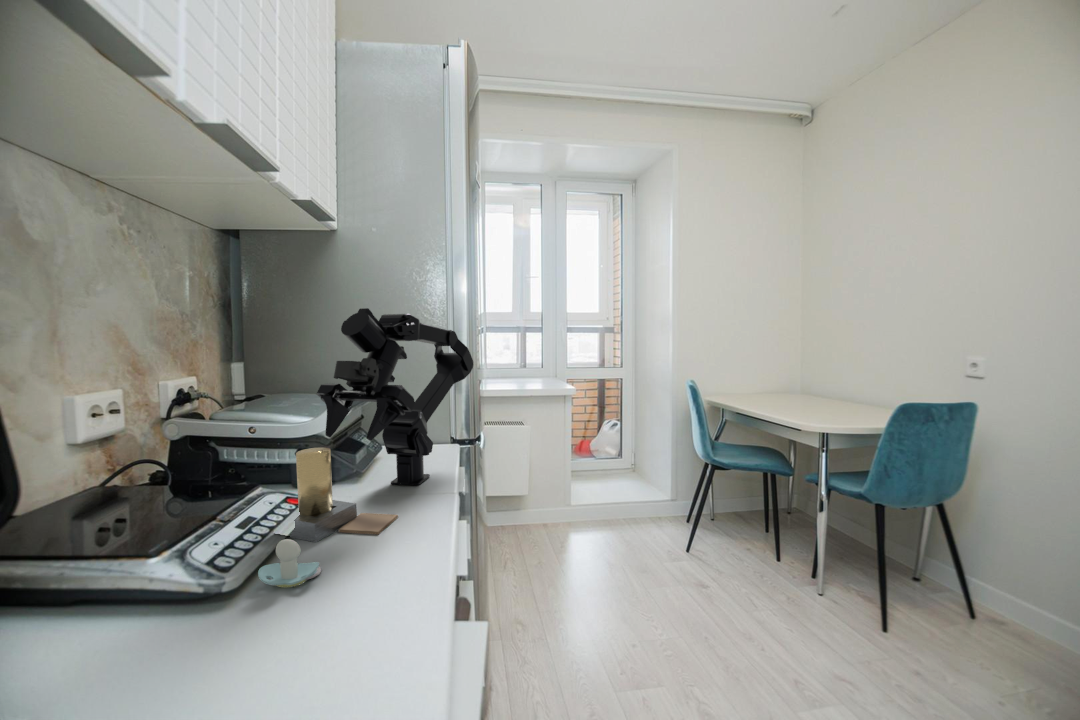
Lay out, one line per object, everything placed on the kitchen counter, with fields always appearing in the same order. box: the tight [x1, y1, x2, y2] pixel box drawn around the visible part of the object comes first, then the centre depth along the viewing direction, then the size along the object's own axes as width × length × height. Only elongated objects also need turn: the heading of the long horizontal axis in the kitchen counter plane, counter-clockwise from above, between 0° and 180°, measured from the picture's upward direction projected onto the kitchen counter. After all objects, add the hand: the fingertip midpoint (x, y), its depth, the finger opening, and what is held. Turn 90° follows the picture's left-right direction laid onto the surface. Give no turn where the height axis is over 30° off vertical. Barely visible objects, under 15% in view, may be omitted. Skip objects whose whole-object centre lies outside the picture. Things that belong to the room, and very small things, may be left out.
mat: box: [338, 512, 399, 536], centre depth 79 cm, size 7×7×1 cm
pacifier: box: [257, 538, 322, 588], centre depth 62 cm, size 7×6×6 cm
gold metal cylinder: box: [295, 447, 334, 517], centre depth 78 cm, size 5×5×13 cm
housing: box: [289, 499, 358, 543], centre depth 79 cm, size 9×9×3 cm
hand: (347, 437), depth 84 cm, fingers open, 9 cm apart
